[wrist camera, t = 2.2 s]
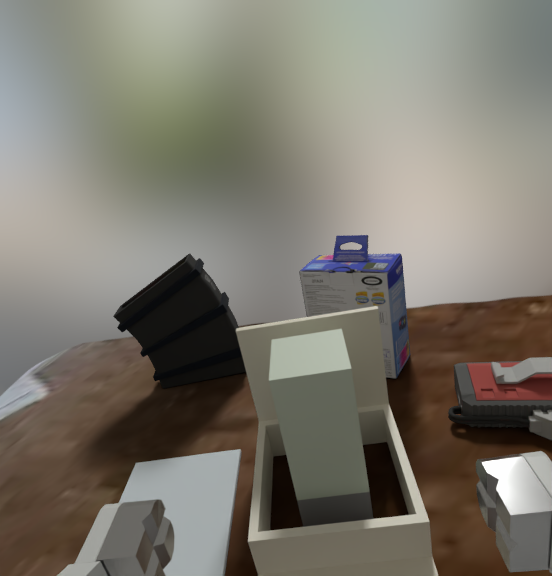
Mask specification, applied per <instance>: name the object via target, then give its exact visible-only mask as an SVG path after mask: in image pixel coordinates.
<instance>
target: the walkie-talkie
mask: <svg viewBox="0 0 552 576" xmlns="http://www.w3.org/2000/svg"><path fill="white" fill-rule="evenodd" d="M454 379H455V389H456V394H457V398H458V403H459V406H454V407H451V408H450V409H449V412H448V414H449V419H450V420H451V421H453V422H455V423H460V424H467V425H469V426H471V427H473V426H477V427H499V428H501V427H506V428H508V427H513V428H515V427H520V428H523V427H527V428H529V431H530V432H534V433H535V434H537V435H540V436H542V437H545V438H547V439H550V440H552V357H548V358H528V359H526V360H524V361H519V362H518V361H515V362H478V363H473V362H472V363H459V364H456V365H454ZM455 414H461V416H460V415H455Z"/></svg>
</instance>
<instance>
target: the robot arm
mask: <svg viewBox="0 0 552 576" xmlns="http://www.w3.org/2000/svg"><path fill="white" fill-rule="evenodd" d="M476 472H477V474H478V476H479V478H480V481H479V482H478V484H477V497H478V501H479V506H480V509H481V512H482V514H483V517H484V519H485V521H486V524H487V526H488V527H489V528H491V529H492V530H493V531H495V532H496V545H497V547H498V549H499V551H500V553H501V555H502V557H503V559H504V561H505V563H506V566H507V568H508V570H509V572H519V571H534V570H549V569H550V571H549V572H551V573H552V462H551V460H550V459H549V458H548V456H547V455H546V454H545V453H543V452H542V451H540V452H532V453H524V454H519V455H518V454H515V455H508V456H500V457H493V458H486V459H478V460H477V462H476ZM165 509H166V508H165V506H164V504H163V502H162V500H159V499H156V500H145V501H135V502H124V503H117V504H107V505H105V506H104V507H103V508H101V510H100V511H99V513H98V516H97V518H96V520H95V522H94V524H93V526H92V528H91V530H90V532H89V534H88V536H87V539H86V541H85V543H84V545H83V547H82V549H81V551H80V553H79V555H78V557H77V560H76V562H75V564H69V565H68V566H67V567H66V568H65V569H64V570H63V571H62V572H61V573H60V574H58V575H57V576H166V575H165V573H164V571H163V569H164V568H165V567H166V566H167V565H168V563H169V562H170V561H171V559H172V555H173V551H174V538H175V536H174V530H173V526H172V523H171V521H170V520H169V519H167V518H166V517H164V512H165Z"/></svg>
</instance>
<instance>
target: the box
mask: <svg viewBox="0 0 552 576" xmlns="http://www.w3.org/2000/svg"><path fill="white" fill-rule="evenodd" d="M269 384H270V388H271V392H272V396H273V401H274V405H275V409H276V413H277V418H278V422H279V426H280V430H281V434H282V439H283V443H284V447H285V451H286V456H287V460H288V464H289V468H290V473H291V477H292V481H293V485H294V489H295V494H296V498H297V502H298V506H299V511H300V515H301V519H302V523H303V527H306V526H315V525H324V524H333V523H342V522H351V521H360V520H368V519H374V518H373V511H372V505H371V498H370V491H369V484H368V478H367V471H366V464H365V457H364V450H363V444H362V437H361V430H360V423H359V417H358V410H357V403H356V396H355V389H354V383H353V376H352V369H351V365H350V361H349V357H348V353H347V348H346V344H345V340H344V336H343V332H342V329H337V330H330V331H324V332H318V333H311V334H305V335H298V336H292V337H286V338H279V339H273V340H272V343H271V357H270V371H269Z"/></svg>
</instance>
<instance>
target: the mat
mask: <svg viewBox="0 0 552 576" xmlns="http://www.w3.org/2000/svg"><path fill="white" fill-rule="evenodd" d="M240 459H241V449H238V450H231V451H223V452H216V453H208V454H200V455H193V456H185V457H178V458H170V459H162V460H155V461H147V462H140V463H136V464H135V467H134V469H133V471H132V474H131V476H130V478H129V480H128V483H127V485H126V487H125V490H124V492H123V494H122V497H121V499H120V501H119V503H124V502H135V501H145V500H156V499H159V500H162V502H163V504H164V506H165V508H166V509H165V512H164V517H166V518H167V519H169V520H170V521H171V523H172V526H173V530H174V536H175V538H174V551H173V555H172V559H171V561H170V562H169V563H168V565H167V566H166V567H165V568H164V569H163V571H164V573H165V575H166V576H225V569H226V562H227V555H228V547H229V540H230V533H231V525H232V518H233V511H234V503H235V496H236V489H237V481H238V474H239V467H240Z"/></svg>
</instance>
